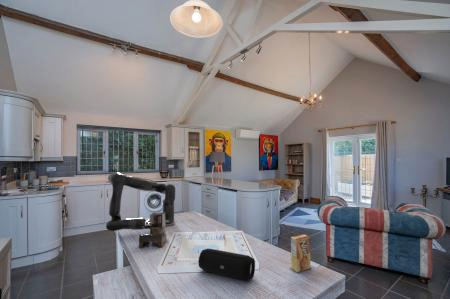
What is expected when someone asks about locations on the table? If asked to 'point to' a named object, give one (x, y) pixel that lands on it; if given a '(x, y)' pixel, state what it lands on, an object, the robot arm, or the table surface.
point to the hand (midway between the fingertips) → (160, 223)
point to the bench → (152, 239)
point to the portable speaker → (227, 263)
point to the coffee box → (158, 222)
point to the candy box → (300, 253)
